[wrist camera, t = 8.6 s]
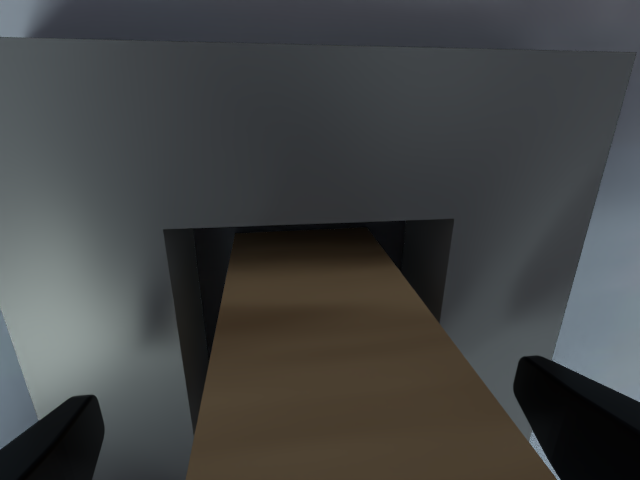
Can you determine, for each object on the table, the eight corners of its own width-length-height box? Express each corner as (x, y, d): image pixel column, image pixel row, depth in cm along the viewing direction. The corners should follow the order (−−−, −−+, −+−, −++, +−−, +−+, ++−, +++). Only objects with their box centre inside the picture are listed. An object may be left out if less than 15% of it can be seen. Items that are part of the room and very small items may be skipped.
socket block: (469, 424, 16) (513, 497, 13) (120, 463, 14) (84, 556, 11) (540, 62, 11) (636, 52, 8) (17, 52, 9) (-93, 34, 6)
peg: (361, 335, 13) (523, 741, 5) (244, 345, 13) (210, 814, 5) (366, 227, 12) (606, 546, 4) (234, 233, 11) (156, 621, 3)
